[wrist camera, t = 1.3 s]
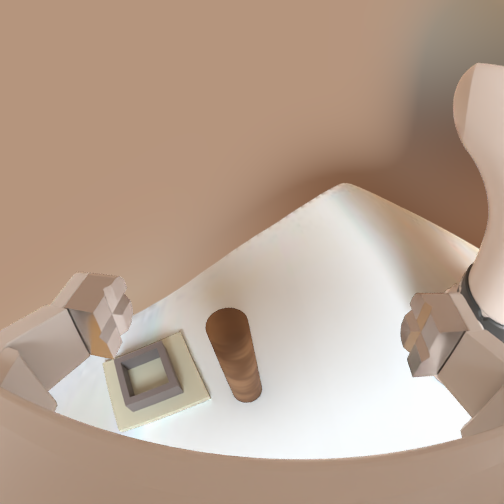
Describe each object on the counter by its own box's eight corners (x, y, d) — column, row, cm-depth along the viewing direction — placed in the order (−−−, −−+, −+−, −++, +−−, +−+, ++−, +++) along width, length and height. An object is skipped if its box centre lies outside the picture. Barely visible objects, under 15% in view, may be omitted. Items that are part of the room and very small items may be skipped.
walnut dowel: (253, 371, 40) (237, 301, 30) (267, 394, 38) (255, 331, 27) (227, 384, 39) (199, 318, 28) (240, 407, 36) (215, 350, 26)
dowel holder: (182, 335, 46) (175, 322, 44) (210, 398, 38) (204, 389, 35) (105, 366, 42) (95, 355, 40) (122, 432, 34) (110, 425, 32)
